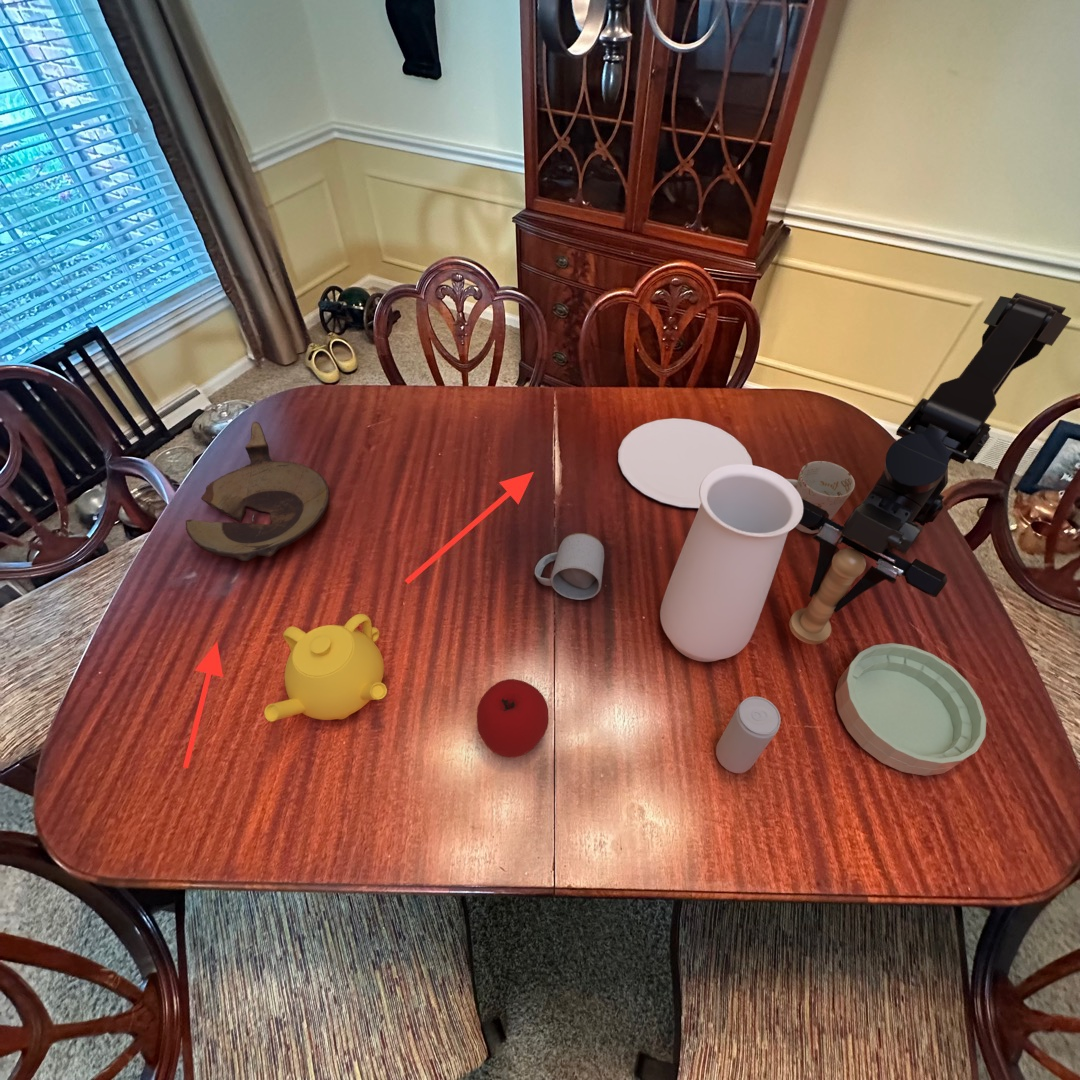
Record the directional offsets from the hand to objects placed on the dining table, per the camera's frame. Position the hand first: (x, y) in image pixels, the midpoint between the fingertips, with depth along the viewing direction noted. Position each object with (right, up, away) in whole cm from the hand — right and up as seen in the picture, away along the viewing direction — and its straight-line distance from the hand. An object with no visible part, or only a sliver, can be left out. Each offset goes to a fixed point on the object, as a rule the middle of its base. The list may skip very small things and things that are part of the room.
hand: (822, 604), depth 75 cm
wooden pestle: (+1, -4, +6) cm, 7 cm away
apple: (-39, -17, +3) cm, 43 cm away
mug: (+8, +12, +28) cm, 32 cm away
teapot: (-63, -13, +7) cm, 64 cm away
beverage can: (-11, -20, +1) cm, 22 cm away
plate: (-8, +22, +37) cm, 44 cm away
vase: (-12, -6, +13) cm, 19 cm away
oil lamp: (-82, +13, +30) cm, 88 cm away
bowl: (+12, -15, +4) cm, 20 cm away
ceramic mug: (-31, +2, +20) cm, 37 cm away
